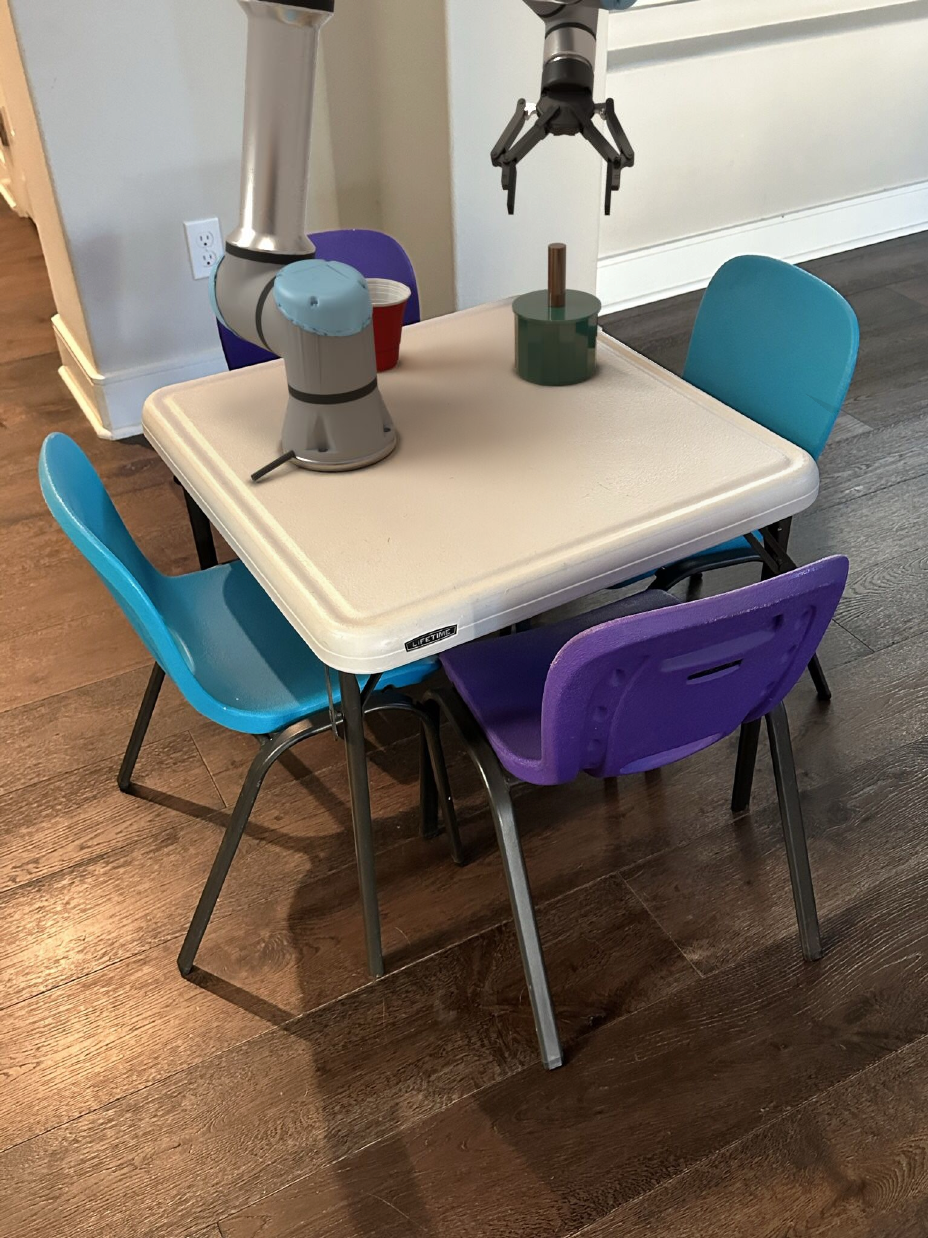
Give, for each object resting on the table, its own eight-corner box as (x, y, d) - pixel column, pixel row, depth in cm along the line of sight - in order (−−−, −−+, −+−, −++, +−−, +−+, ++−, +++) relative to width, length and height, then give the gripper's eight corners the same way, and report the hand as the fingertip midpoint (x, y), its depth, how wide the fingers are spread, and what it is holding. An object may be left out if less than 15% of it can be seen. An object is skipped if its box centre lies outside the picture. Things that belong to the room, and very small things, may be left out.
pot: (547, 392, 163) (548, 329, 157) (499, 366, 171) (498, 305, 165) (612, 371, 168) (614, 309, 162) (562, 346, 176) (563, 287, 170)
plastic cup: (413, 378, 168) (408, 300, 161) (341, 380, 169) (333, 302, 162) (417, 349, 177) (412, 274, 170) (349, 351, 178) (341, 276, 171)
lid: (547, 335, 157) (548, 267, 151) (494, 309, 166) (492, 243, 160) (619, 313, 163) (622, 246, 157) (564, 289, 171) (565, 225, 166)
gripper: (655, 87, 163) (647, 224, 160) (484, 88, 167) (473, 222, 163) (657, 53, 156) (649, 196, 153) (478, 55, 159) (467, 195, 156)
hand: (558, 210), depth 158 cm, fingers open, 13 cm apart
